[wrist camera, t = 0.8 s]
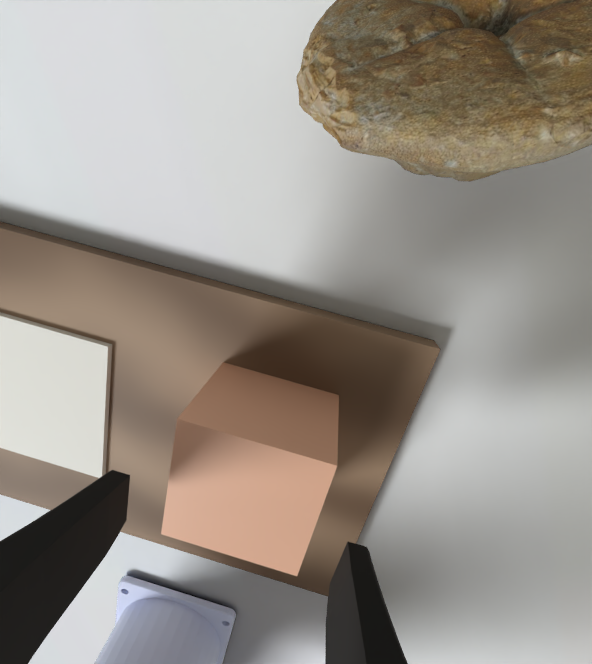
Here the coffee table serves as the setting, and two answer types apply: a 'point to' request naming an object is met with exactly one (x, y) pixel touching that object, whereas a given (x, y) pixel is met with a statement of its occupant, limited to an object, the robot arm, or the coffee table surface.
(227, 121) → the coffee table surface
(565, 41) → the fossil
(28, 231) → the post board
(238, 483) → the salmon pink cube
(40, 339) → the mat
